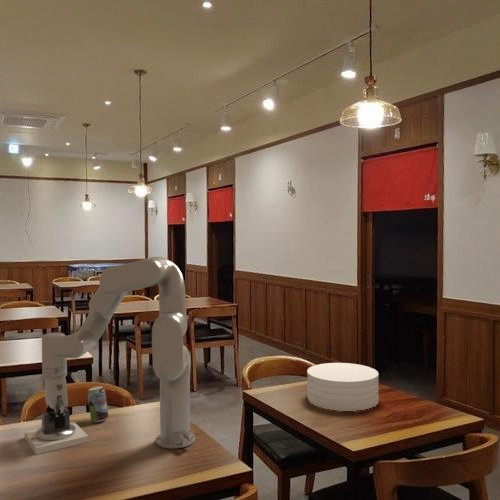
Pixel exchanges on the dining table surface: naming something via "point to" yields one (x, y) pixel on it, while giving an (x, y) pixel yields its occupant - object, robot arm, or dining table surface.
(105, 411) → the beverage can
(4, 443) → the dining table surface
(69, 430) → the dial
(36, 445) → the dial base
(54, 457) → the dining table surface
